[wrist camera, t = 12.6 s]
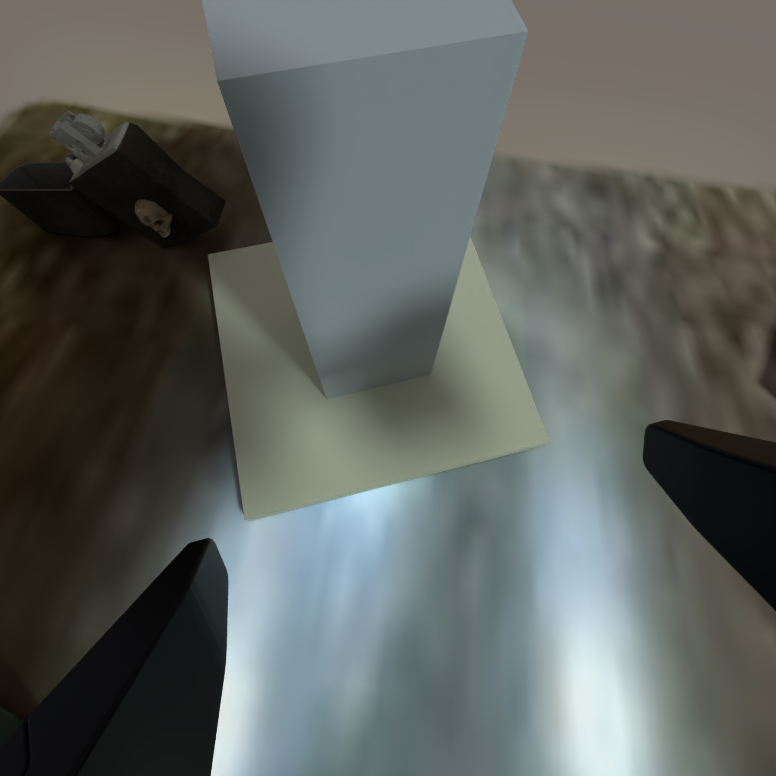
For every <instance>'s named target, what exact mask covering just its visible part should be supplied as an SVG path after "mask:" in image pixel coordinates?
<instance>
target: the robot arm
mask: <svg viewBox="0 0 776 776" xmlns="http://www.w3.org/2000/svg"><path fill="white" fill-rule="evenodd" d="M643 462H644V465H645V467H646V469H647V470H648V471H649V473H650V474H651V475H652V476H653V478H654V479H655V480H656V481H657V483H658V484H659V485H660V486H661V487H662V489H663V490H664V491H665V492H666V494H667V495H668V496H669V497H670V499H671V500H672V501H673V502H674V504H675V505H676V506H677V507H678V509H679V510H680V511H681V512H682V513H683V515H684V516H685V517H686V518H687V520H688V521H689V522H690V523H691V524H692V525H693V527H694V528H695V529H696V530H697V531H698V532H699V533H700V534H701V535H702V536H703V537H704V538H705V539H706V540H707V541H708V542H709V544H710V545H711V546H712V547H713V548H714V549H715V550H716V551H717V552H718V553H719V554H720V555H721V556H722V557H723V558H724V559H725V560H726V561H727V562H728V563H729V564H730V565H731V566H732V567H733V568H734V569H735V570H736V571H737V572H738V573H739V574H740V575H741V576H742V577H743V578H744V579H745V580H746V581H747V582H748V584H749V585H750V586H751V587H752V588H753V589H754V590H755V591H756V592H757V593H758V594H759V595H760V596H761V597H762V598H763V599H764V600H765V601H766V602H767V603H768V604H769V605H770V606H771V607H772V608H773V609H774V610H775V611H776V443H775V442H771V441H766V440H761V439H756V438H752V437H747V436H742V435H737V434H732V433H728V432H723V431H718V430H713V429H708V428H704V427H699V426H694V425H689V424H684V423H680V422H675V421H670V420H664V421H660V422H656V423H652V424H649V425H648V426H647V427H646V429H645V434H644V447H643ZM227 615H228V574H227V570H226V567H225V565H224V562H223V560H222V558H221V555H220V553H219V551H218V548H217V546H216V544H215V542H214V541H213V540H212V539H210V538H206V539H202V540H198V541H195V542H191V543H189V544H188V545H187V546H186V547H185V548H184V549H183V550H182V551H181V552H180V553H179V554H178V555H177V556H176V557H175V558H174V560H173V561H172V562H171V563H170V564H169V565H168V566H167V567H166V568H165V569H164V570H163V571H162V572H161V574H160V575H159V576H158V577H157V578H156V579H155V580H154V581H153V582H152V583H151V584H150V585H149V587H148V588H147V589H146V590H145V591H144V592H143V593H142V594H141V595H140V596H139V597H138V598H137V600H136V601H135V602H134V603H133V604H132V605H131V606H130V607H129V608H128V609H127V610H126V611H125V613H124V614H123V615H122V616H121V617H120V618H119V619H118V620H117V621H116V622H115V623H114V624H113V626H112V627H111V628H110V629H109V630H108V631H107V632H106V633H105V634H104V635H103V636H102V637H101V638H100V640H99V641H98V642H97V643H96V644H95V645H94V646H93V647H92V648H91V649H90V650H89V651H88V653H87V654H86V655H85V656H84V657H83V658H82V659H81V660H80V661H79V662H78V663H77V664H76V666H75V667H74V668H73V669H72V670H71V671H70V672H69V673H68V674H67V675H66V676H65V677H64V678H63V680H62V681H61V682H60V683H59V684H58V685H57V686H56V687H55V688H54V689H53V690H52V691H51V693H50V694H49V695H48V696H47V697H46V698H45V699H44V700H43V701H42V702H41V703H40V704H39V705H38V707H37V708H36V709H35V710H34V711H33V712H32V713H31V714H30V715H29V716H28V718H27V722H24V723H22V724H21V725H20V726H19V727H18V728H17V729H16V730H15V731H14V732H13V733H12V735H11V736H10V737H9V738H8V739H7V740H6V741H5V742H4V743H3V744H2V745H1V746H0V776H211V769H212V761H213V754H214V747H215V740H216V732H217V725H218V718H219V711H220V703H221V696H222V689H223V682H224V674H225V665H226V651H227Z"/></svg>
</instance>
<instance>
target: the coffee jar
mask: <svg viewBox="0 0 776 776" xmlns="http://www.w3.org/2000/svg"><path fill="white" fill-rule="evenodd" d="M22 723H24V721H23V720H22V719H20V718H19V717H18V716H17V715H15V714H14V713H12V712H11V711H9V710H7V709H5V708H3V707H1V706H0V746H1V745H2V744H3V743H4V742H5V741H6V740H7V739H8V738H9V737H10V736H11V735H12V733H13V732H14V731H15V730H16V729H17V728H18V727H19V726H20V725H21V724H22Z"/></svg>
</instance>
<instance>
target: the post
mask: <svg viewBox="0 0 776 776" xmlns="http://www.w3.org/2000/svg"><path fill="white" fill-rule="evenodd" d="M202 1H203V7H204V13H205V17H206V23H207V29H208V34H209V39H210V45H211V50H212V55H213V61H214V66H215V71H216V77H217V82H218V84H219V87H220V90H221V93H222V96H223V99H224V102H225V105H226V108H227V111H228V114H229V116H230V119H231V122H232V125H233V128H234V131H235V134H236V137H237V140H238V143H239V146H240V148H241V151H242V154H243V157H244V160H245V163H246V166H247V169H248V172H249V175H250V178H251V180H252V183H253V186H254V189H255V192H256V195H257V198H258V201H259V204H260V207H261V210H262V212H263V215H264V218H265V221H266V224H267V227H268V230H269V233H270V236H271V239H272V241H273V244H274V247H275V250H276V253H277V256H278V259H279V262H280V265H281V268H282V271H283V273H284V276H285V279H286V282H287V285H288V288H289V291H290V294H291V297H292V300H293V303H294V305H295V308H296V311H297V314H298V317H299V320H300V323H301V326H302V329H303V332H304V334H305V337H306V340H307V343H308V346H309V349H310V352H311V355H312V358H313V361H314V364H315V366H316V369H317V372H318V375H319V378H320V381H321V384H322V387H323V390H324V393H325V396H326V398H327V399H330V398H334V397H338V396H343V395H347V394H351V393H355V392H359V391H363V390H368V389H372V388H376V387H380V386H384V385H389V384H393V383H397V382H401V381H405V380H409V379H414V378H418V377H422V376H426V375H430V374H431V373H432V369H433V366H434V362H435V358H436V355H437V351H438V348H439V344H440V341H441V337H442V334H443V330H444V327H445V323H446V320H447V316H448V313H449V309H450V306H451V302H452V298H453V295H454V291H455V288H456V284H457V281H458V277H459V274H460V270H461V267H462V263H463V260H464V256H465V253H466V249H467V245H468V242H469V238H470V235H471V231H472V228H473V224H474V221H475V217H476V214H477V210H478V207H479V203H480V200H481V196H482V193H483V189H484V185H485V182H486V178H487V175H488V171H489V168H490V164H491V161H492V157H493V154H494V150H495V146H496V143H497V140H498V136H499V133H500V129H501V125H502V122H503V118H504V115H505V111H506V107H507V104H508V101H509V97H510V94H511V90H512V87H513V83H514V80H515V76H516V73H517V69H518V65H519V62H520V58H521V55H522V51H523V48H524V44H525V41H526V37H527V34H528V30H527V28H526V26H525V25H524V23H523V21H522V19H521V17H520V15H519V14H518V12H517V10H516V8H515V6H514V5H513V3H512V1H511V0H202Z"/></svg>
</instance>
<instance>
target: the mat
mask: <svg viewBox="0 0 776 776" xmlns="http://www.w3.org/2000/svg"><path fill="white" fill-rule="evenodd" d="M208 260H209V267H210V274H211V281H212V289H213V296H214V303H215V310H216V317H217V325H218V332H219V339H220V346H221V353H222V361H223V368H224V375H225V382H226V389H227V397H228V404H229V411H230V418H231V425H232V433H233V440H234V447H235V454H236V461H237V469H238V476H239V483H240V490H241V497H242V504H243V512H244V519H245V520H248V521H251V520H254V519H258V518H262V517H266V516H270V515H274V514H278V513H282V512H286V511H290V510H294V509H298V508H301V507H305V506H309V505H313V504H317V503H321V502H325V501H329V500H333V499H337V498H341V497H344V496H348V495H352V494H356V493H360V492H364V491H368V490H372V489H376V488H380V487H384V486H388V485H391V484H395V483H399V482H403V481H407V480H411V479H415V478H419V477H423V476H427V475H431V474H435V473H438V472H442V471H446V470H450V469H454V468H458V467H462V466H466V465H470V464H474V463H478V462H482V461H485V460H489V459H493V458H497V457H501V456H505V455H509V454H513V453H517V452H521V451H525V450H528V449H532V448H536V447H540V446H544V445H546V444H547V443H549V439H548V436H547V434H546V431H545V429H544V426H543V423H542V421H541V418H540V416H539V413H538V410H537V408H536V405H535V403H534V400H533V398H532V395H531V392H530V390H529V387H528V385H527V382H526V379H525V377H524V374H523V372H522V369H521V366H520V364H519V361H518V359H517V356H516V353H515V351H514V348H513V346H512V343H511V341H510V338H509V335H508V333H507V330H506V328H505V325H504V322H503V320H502V317H501V315H500V312H499V309H498V307H497V304H496V302H495V299H494V296H493V294H492V291H491V289H490V286H489V283H488V281H487V278H486V276H485V273H484V271H483V268H482V265H481V263H480V260H479V258H478V255H477V252H476V250H475V247H474V245H473V242H472V239H471V237H470V238H469V242H468V245H467V249H466V253H465V256H464V260H463V263H462V267H461V270H460V274H459V277H458V281H457V284H456V288H455V291H454V295H453V298H452V302H451V306H450V309H449V313H448V316H447V320H446V323H445V327H444V330H443V334H442V337H441V341H440V344H439V348H438V351H437V355H436V358H435V362H434V366H433V369H432V373H431V374H430V375H426V376H422V377H418V378H414V379H409V380H405V381H401V382H397V383H393V384H389V385H384V386H380V387H376V388H372V389H368V390H363V391H359V392H355V393H351V394H347V395H343V396H338V397H334V398H330V399H327V398H326V396H325V393H324V390H323V387H322V384H321V381H320V378H319V375H318V372H317V369H316V366H315V364H314V361H313V358H312V355H311V352H310V349H309V346H308V343H307V340H306V337H305V334H304V332H303V329H302V326H301V323H300V320H299V317H298V314H297V311H296V308H295V305H294V303H293V300H292V297H291V294H290V291H289V288H288V285H287V282H286V279H285V276H284V273H283V271H282V268H281V265H280V262H279V259H278V256H277V253H276V250H275V247H274V244H273V242H270V243H264V244H259V245H254V246H249V247H244V248H239V249H234V250H228V251H223V252H218V253H213V254H208Z"/></svg>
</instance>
